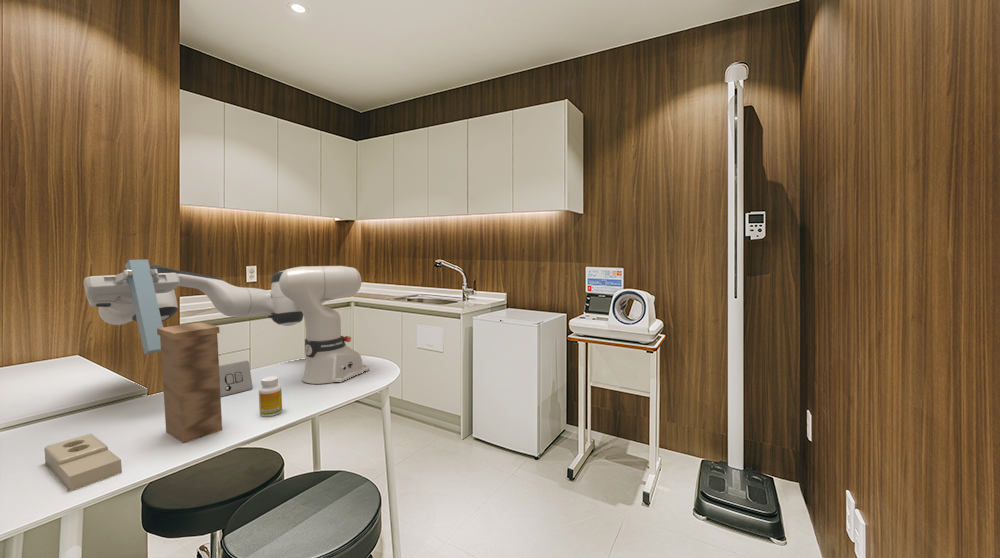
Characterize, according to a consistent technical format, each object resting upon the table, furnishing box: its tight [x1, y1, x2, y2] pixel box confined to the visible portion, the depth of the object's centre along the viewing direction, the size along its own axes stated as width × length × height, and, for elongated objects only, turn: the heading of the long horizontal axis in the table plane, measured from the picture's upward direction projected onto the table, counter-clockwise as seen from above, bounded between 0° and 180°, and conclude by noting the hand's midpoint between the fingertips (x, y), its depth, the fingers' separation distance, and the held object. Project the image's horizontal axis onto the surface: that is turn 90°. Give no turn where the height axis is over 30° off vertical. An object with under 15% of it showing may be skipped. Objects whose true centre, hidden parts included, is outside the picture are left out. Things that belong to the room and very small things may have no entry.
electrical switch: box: [219, 360, 253, 397], centre depth 124 cm, size 9×5×9 cm, turn 141°
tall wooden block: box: [157, 321, 223, 444], centre depth 97 cm, size 9×10×26 cm
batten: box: [124, 259, 164, 355], centre depth 110 cm, size 4×26×4 cm
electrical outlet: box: [43, 433, 123, 492], centre depth 81 cm, size 7×4×18 cm
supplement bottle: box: [258, 376, 283, 417], centre depth 108 cm, size 5×5×10 cm
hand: (141, 271), depth 110 cm, fingers closed on batten, 4 cm apart
